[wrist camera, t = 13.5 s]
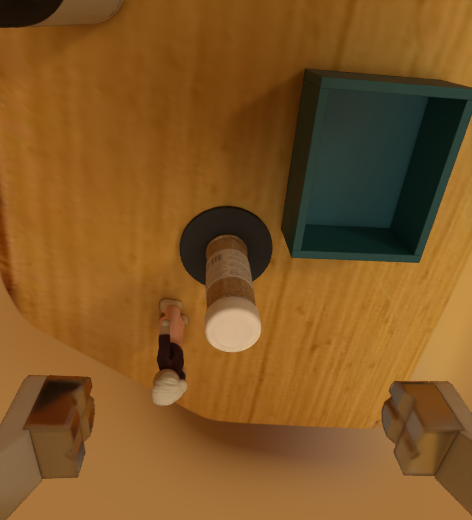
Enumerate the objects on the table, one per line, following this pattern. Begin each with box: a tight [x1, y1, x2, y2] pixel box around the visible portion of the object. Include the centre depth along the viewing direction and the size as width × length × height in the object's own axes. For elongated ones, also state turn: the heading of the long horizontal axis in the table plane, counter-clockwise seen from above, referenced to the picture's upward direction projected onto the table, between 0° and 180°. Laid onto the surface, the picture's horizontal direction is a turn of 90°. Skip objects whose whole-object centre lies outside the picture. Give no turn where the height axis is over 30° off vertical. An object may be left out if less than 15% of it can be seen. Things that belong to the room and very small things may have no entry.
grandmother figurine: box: [152, 299, 188, 405], centre depth 43 cm, size 8×4×13 cm, turn 22°
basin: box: [281, 69, 472, 263], centre depth 37 cm, size 16×13×6 cm
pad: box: [180, 206, 272, 285], centre depth 44 cm, size 10×10×1 cm
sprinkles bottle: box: [205, 234, 261, 352], centre depth 38 cm, size 5×5×13 cm
